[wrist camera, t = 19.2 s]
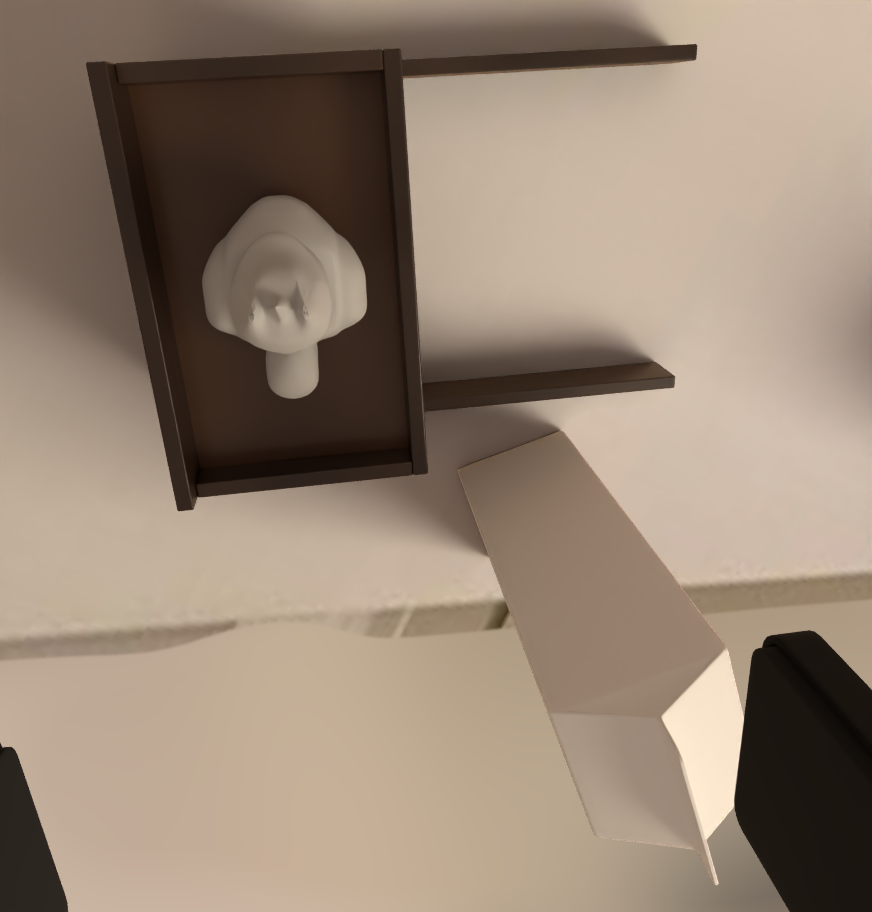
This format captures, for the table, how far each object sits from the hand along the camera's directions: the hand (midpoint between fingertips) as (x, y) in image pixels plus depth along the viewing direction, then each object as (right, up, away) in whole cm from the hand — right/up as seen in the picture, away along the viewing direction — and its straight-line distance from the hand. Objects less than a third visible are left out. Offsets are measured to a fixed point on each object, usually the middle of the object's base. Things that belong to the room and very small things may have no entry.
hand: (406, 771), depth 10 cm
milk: (+5, +2, +33) cm, 34 cm away
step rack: (0, +14, +27) cm, 31 cm away
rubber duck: (-5, +10, +19) cm, 23 cm away
